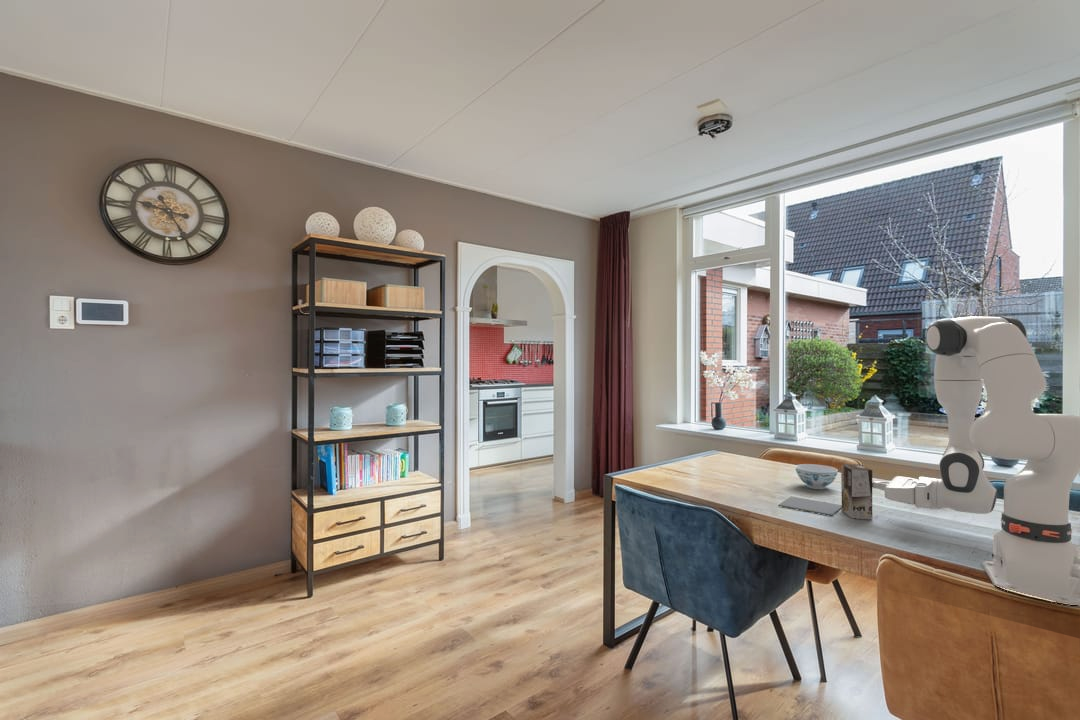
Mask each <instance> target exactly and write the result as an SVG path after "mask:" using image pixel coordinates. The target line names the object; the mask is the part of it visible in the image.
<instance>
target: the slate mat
mask: <svg viewBox="0 0 1080 720" xmlns="http://www.w3.org/2000/svg"><path fill="white" fill-rule="evenodd" d="M777 506H778V507H779V506H782V507H781V508H784V507H787V508H786V509H790V508H792V509H791V510H795V509H798V510H797V511H800V510H803V511H802V512H806V511H809V512H808V513H811V512H814V513H813V514H817V513H820V514H819V515H822V514H825V515H824V516H827V515H829V517H834V516H835V515H836V514H837V513H838V512H839V511H841V510H842V504H838V503H831V502H825V501H820V500H814V499H808V498H803V497H797V496H796V497H795V496H790V497H788V498H786V499H785V500H784V501H782V502H780V503H778V505H777ZM836 512H837V513H836ZM835 513H836V514H835ZM834 514H835V515H834ZM833 515H834V516H833Z"/></svg>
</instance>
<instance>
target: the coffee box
mask: <svg viewBox="0 0 1080 720" xmlns="http://www.w3.org/2000/svg"><path fill="white" fill-rule="evenodd" d="M840 465H841V466H840V467H841V468H840V470H841V473H840V475H841V479H840V480H841V482H840V483H841V505H842V508H841V512H843V513H844V514H846V515H847V516H848V517H850V519H851V518H852V519H854V518H856V519H857V520H870V519H872V520H873V487H872V483H873V469H871V468H869V467H866V466H864V465H862V464H857V463H855V464H854V463H853V464H850V463H848V464H846V463H845V464H842V463H841V464H840Z"/></svg>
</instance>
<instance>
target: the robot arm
mask: <svg viewBox="0 0 1080 720" xmlns="http://www.w3.org/2000/svg"><path fill="white" fill-rule="evenodd" d="M1027 335H1028V334H1027V330H1026V327H1025V325H1024V324H1023V323H1022V322H1021V321H1020V320H1019V319H1017V318H1014V317H1011V316H998V317H996V316H963V317H956V318H955V317H954V318H948V317H947V318H942V319H938V320H934V321H933V322H931V323H930V325H929V326H928V327H927V330H926V333H925V342H926V346H927V348H928V349H929V350H930V351H931V352H932V353H933V354H934V355H936V356H935V361H934V369H933V383H934V384H933V385H934V392H935V395H936V399H937V402H938V404H939V405H940V406H941V407H942V408H943V410H944V411H945V413H946V415H947V416H946V417H947V424H948V425H947V427H948V445H947V447H946V449H945V451H944V452H943V454H942V457H941V458H940V460H939V463H938V469H939V472H940V475H941V478H935V477H927V476H922V475H921V476H919V477H918V478H913V477H910V476H909V477H907V476H902V475H901V476H900V475H896V476H894V477H893V478H892V479H891V481H888V480H886V481H882V480H881V481H880V480H874V481H872V489H879V490H882V491H884V498H885V499H887V500H890V501H893V502H897V503H902V504H907V505H914V506H915V507H917V508H920V509H921V508H922V509H924V508H934V509H949V510H952V511H955V512H959V513H960V512H961V513H965V514H966V513H967V514H968V513H969V514H976V515H986V514H987V515H988V514H989V513H991V512H993V510H994V508H995V507H996V502H997V498H998V491H997V488H995V487H994V486H993V485H992V483H991V482H990V480H989V478H988V477H987V475H986V472H985V471H984V469H985V460H984V458H983V455H984V456H986V457H991V458H995V459H996V458H997V459H1003V460H1013V461H1014V460H1015V461H1018V460H1019V461H1026V464H1025V465H1024V467H1023V468H1022V469H1021V470H1020V471H1019V472H1017V473H1015V474H1014V475H1013V474H1012V475H1011V476H1009V477H1008V478H1007V479H1006V480H1005V482H1004V485H1003V511H1002V512H1001V517H1000V523H1001V524H1000V525H1001V529H1000V530H999V531H998V532H996V533H994V534H993V548H992V549H993V552H992V554H991V557H992V560H985V561H983V562H982V567H983V569H984V571H985V572H986V575H988V577H989V580H990V581H991V582H992V585H993V586H994V585H997V586H999V587H1002V588H1005V589H1009V590H1013V591H1016V592H1020V593H1024V594H1028V595H1032V596H1037V597H1041V598H1045V599H1049V600H1053V601H1057V602H1061V603H1067V604H1072V605H1080V547H1077V546H1076V545H1075V544H1074V543H1073V542H1072V533H1073V530H1072V523H1071V522H1069V512H1070V511H1069V510H1070V507H1069V506H1070V497H1071V496H1070V495H1071V494H1070V493H1071V489H1072V487H1073V486H1072V485H1073V483H1074V481H1075V479H1076V477H1077V476H1078V474H1079V473H1080V416H1079V415H1073V414H1067V413H1035V411H1034V410H1033V408H1032V401H1033V400H1036V399H1037V398H1039V397H1040V396H1042V394H1044V392H1045V390H1046V388H1047V380H1046V378H1045V376H1044V373H1043V371H1042V368H1041V366H1040V365H1041V364H1040V363H1039V361H1038V358H1037V356H1036V354H1035V351H1034V349H1033V348H1032V345H1031V343H1030V341H1028V339H1027V338H1028V337H1027ZM983 383H984V387H985V391H986V396H987V401H986V406H985V409H984V411H983V412H982V413H981V414H980V416H978V418H977V417H976V419H975V416H976V412H977V410H978V407H979V405H980V403H981V397H982V392H983Z"/></svg>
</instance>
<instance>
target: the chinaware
mask: <svg viewBox="0 0 1080 720" xmlns="http://www.w3.org/2000/svg"><path fill="white" fill-rule="evenodd" d="M795 471H796V474H797V476H798V478H799V479H800V480H801V481H802V482H803V483H804V484H805V485H806V487H807V488H809V489H812V488H813V489H814V490H825V489H826V488H827V487H828V486H829V485H831V484H832V483H833V482H834V481H835V480H836V478H837V476H838V471H839V470H838V469H837V468H835V467H834V466H833V467H832V466H829V465H823V464H814V463H813V464H812V463H803V464H800V463H799V464H797V465H795Z"/></svg>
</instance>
